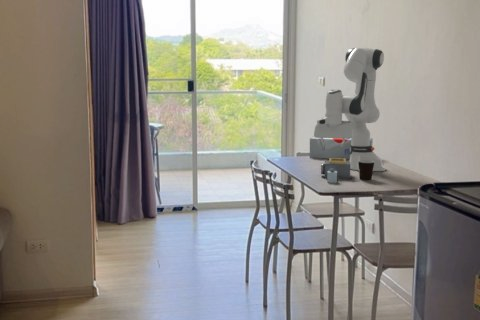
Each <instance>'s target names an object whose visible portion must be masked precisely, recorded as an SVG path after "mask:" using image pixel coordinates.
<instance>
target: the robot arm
mask: <svg viewBox="0 0 480 320" xmlns="http://www.w3.org/2000/svg"><path fill="white" fill-rule="evenodd" d="M384 55H385V54H384V52H383V51H382V50H381V49H378V48H371V47H370V48H368V47H364V48H363V47H353V48H349V49H348V50H347V51H346V53H345V57H344V58H345V59H344V60H345V64H344V67H343V74H344V76H345V78H346V79H348V81H351V82H352V83H355V90H354V93H355V94H354V95H344V94H343V93H342V92H343V91H342V89H337V88H336V89H330V90H328V91H327V93H326V96H325V97H326V98H325V114H324V115H325V116H324V117H321V118H318V119H316V125H315V126H314V132H313V136H314V137H315V138H321V142H322V146H325V143H324V142H323V138H343V142H342V143H340V147H343V143H344V142H345V138H351V145H350V159H348V161H350V164H351V165H350V170H354V171H357V172H359V164H358V161H360V160H370V161H374V167H373V172H384V171H386V170H387V168H386V166H384V165H383V161H382V159H381V157H380V156H379V155H377V154H376V153H375V152H374V150H375V147H374V146H373V145H372V146H370V138H371V132H370V130H369V129H368V127H367V124H372V123H376V122H377V121H379V118H380V116H381V115H380V114H381V113H380V109H379V108H378V106H377V104H376V100H375V89H376V88H375V86H376V79H377V70H378V69H380V68H381V66H383V63H384V60H385V56H384ZM343 114H344V116H345V118H346V119H347V120H343Z"/></svg>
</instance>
